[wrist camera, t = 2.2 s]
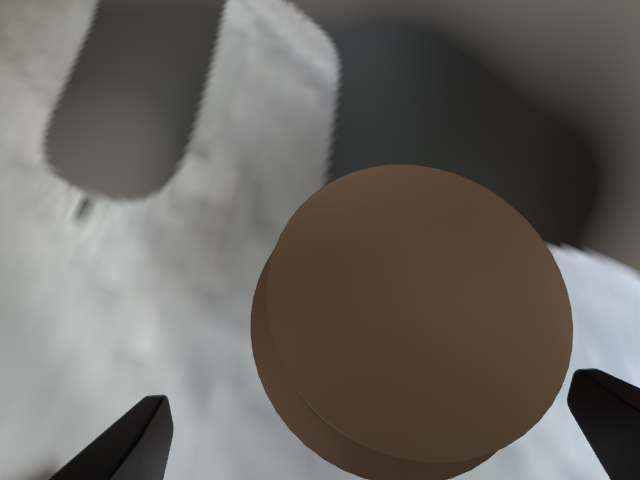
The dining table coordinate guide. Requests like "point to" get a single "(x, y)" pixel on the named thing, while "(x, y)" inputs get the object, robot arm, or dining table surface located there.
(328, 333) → the pepper mill
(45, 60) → the dining table surface
